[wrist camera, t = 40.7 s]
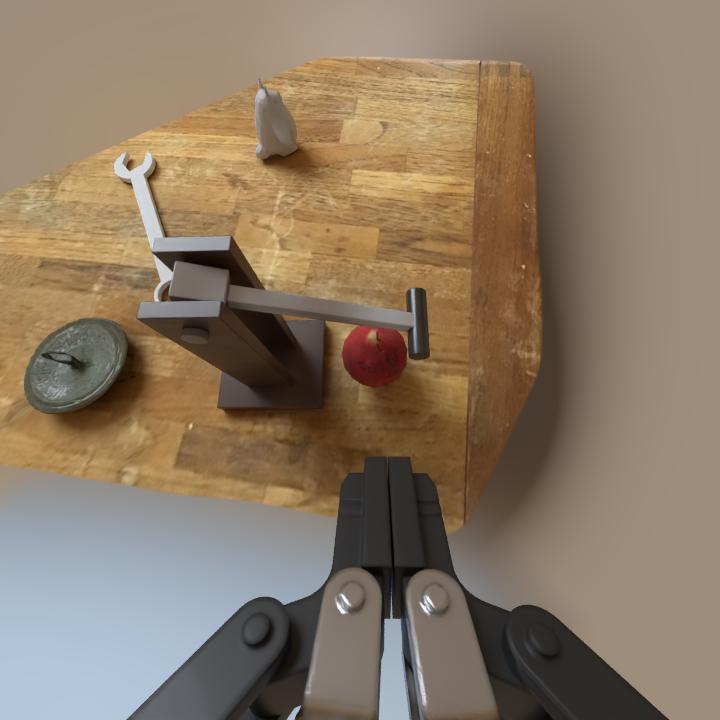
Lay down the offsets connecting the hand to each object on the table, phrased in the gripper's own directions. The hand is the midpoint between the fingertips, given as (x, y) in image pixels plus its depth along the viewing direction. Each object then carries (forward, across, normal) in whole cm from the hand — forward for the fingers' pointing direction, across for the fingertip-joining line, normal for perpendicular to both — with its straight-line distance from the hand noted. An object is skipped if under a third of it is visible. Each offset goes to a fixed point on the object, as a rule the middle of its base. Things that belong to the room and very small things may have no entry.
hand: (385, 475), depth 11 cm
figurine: (+42, +13, -13) cm, 46 cm away
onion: (+21, 0, +7) cm, 22 cm away
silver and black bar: (+13, +5, -1) cm, 14 cm away
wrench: (+34, +27, -5) cm, 43 cm away
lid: (+21, +30, +7) cm, 38 cm away
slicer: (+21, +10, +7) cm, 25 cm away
